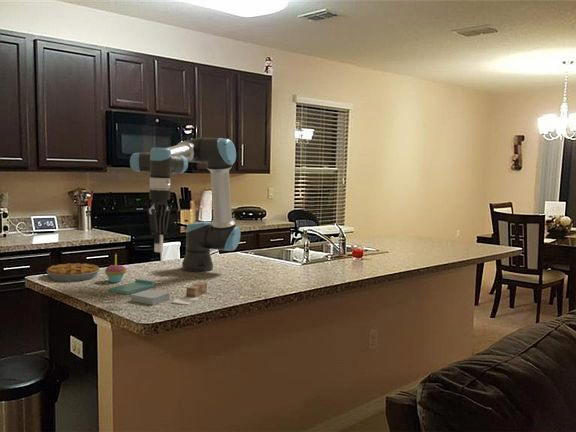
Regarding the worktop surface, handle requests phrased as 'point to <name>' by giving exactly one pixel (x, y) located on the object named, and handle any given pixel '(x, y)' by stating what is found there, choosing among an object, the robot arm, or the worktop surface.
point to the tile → (150, 297)
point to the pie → (72, 272)
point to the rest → (133, 286)
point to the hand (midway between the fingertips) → (158, 251)
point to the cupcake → (115, 272)
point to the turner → (192, 294)
